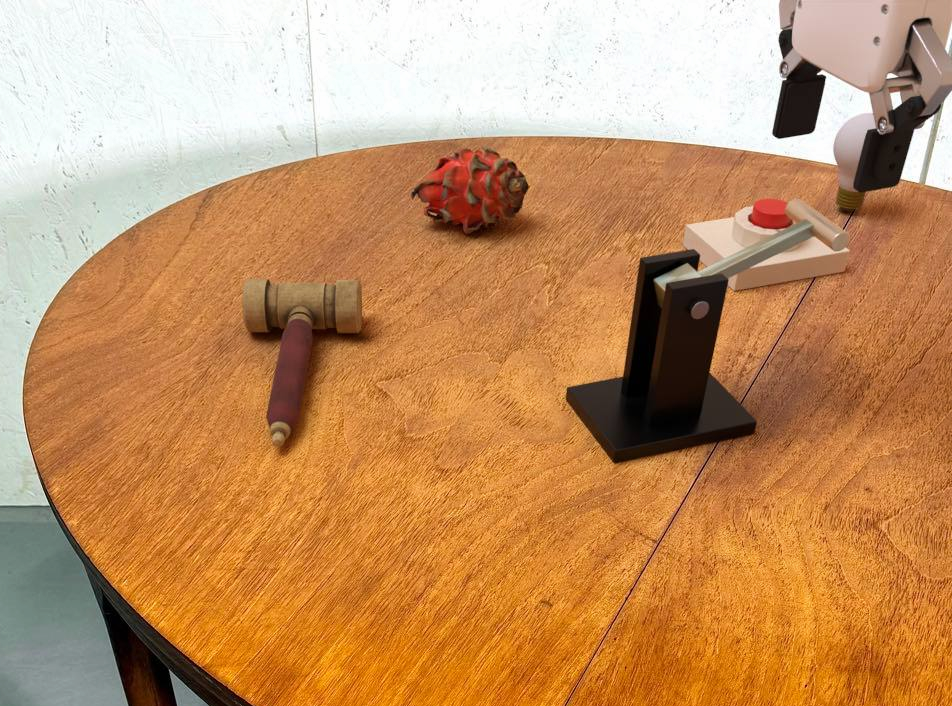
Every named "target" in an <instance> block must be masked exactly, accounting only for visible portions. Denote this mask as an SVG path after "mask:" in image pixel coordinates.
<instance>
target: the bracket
mask: <svg viewBox="0 0 952 706" xmlns="http://www.w3.org/2000/svg"><path fill="white" fill-rule="evenodd" d="M686 263H688V264H689V265H690V266H691V267H693V268H694V269H695V270H696V271H697V272H698V271H699V265H700V254H699V253H698V252H697V251H696V250H695V249H691V250H687V249H686V250H679V251H672V252H668V253H666V252H665V253H662V254H654V255H647V256H643V257H640V258H639V264H638V269H637V276H636V284H635V291H634V297H633V304H632V312H631V318H630V325H629V332H628V339H627V346H626V353H625V358H624V359H625V361H624V367H623V374H622V376H619V377H618V376H617V377H614V378H608V379H603V380H598V381H593V382H592V381H591V382H588V383H582V384H576V385H572V386H567V387H566V392H565V400H566V402H567V403H568V405H570V407H571V408H572V409H573V411H574V412H575V414H576V415H577V416H578V418H579V419H580V420H581V422H582V423H583V424H584V426H585V427H586V428H587V429H588V431H589V432H590V433H591V435H592V436H593V438H594V439H595V440H596V441H597V443H598V444H599V445H600V447H601V448H602V450H604V452H605V453H606V454H607V456H608V457H609V458H610V460H611V461H612V462H613V463H614V464H615V463H620V462H626V461H631V460H635V459H639V458H640V459H641V458H644V457H650V456H655V455H659V454H662V453H663V454H664V453H669V452H673V451H677V450H682V449H688V448H693V447H697V446H702V445H707V444H711V443H715V442H721V441H725V440H731V439H735V438H739V437H740V438H741V437H745V436H748V435H754V434H755V432H756V428H757V424H758V420H756V418H755V417H754V416H753V415H752V414H751V413H750V412H749V411H748V410H747V409H746V408H745V407H744V406H743V405H742V404H741V403H740V402H739V401H738V400H737V399H736V398H735V397H734V396H733V395H732V393H730V391H729V390H728V389H727V388H725V387H724V385H722V383H721V382H720V381H719V380H718V379H717V378H716V377H715V376H714V375H713V374H712V373H711V368H712V367H711V366H712V363H713V357H714V353H715V348H716V343H717V339H718V333H719V329H720V324H721V319H722V315H723V314H722V313H723V310H724V305H725V300H726V295H727V290H728V287H729V286H728V281H729V279H727V278H726V277H725V276H724V275H723V274H716V275H710V276H704V277H698V278H692V279H686V280H681V281H675V282H669V283H666V288H665V294H664V300H663V306H662V309H661V308H660V306H659V305H658V301H657V296H656V291H655V286H654V281H653V280H654V279H655V278H657V277H659V276H661V275H664V274H666V273H668V272H670V271H672V270H674V269H676V268H678V267H680V266H682V265H684V264H686Z"/></svg>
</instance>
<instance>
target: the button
mask: <svg viewBox="0 0 952 706" xmlns="http://www.w3.org/2000/svg"><path fill="white" fill-rule="evenodd" d="M788 203H789V202H787V201H785V200H781V199H777V198H761V199H758V200H756V201H755V202H754V203H753V205H752V206H753V211H752V215H751V220H750V222H751V223H752V224H753V225H755V226H758V227H761V228H764V229H775V230H778V229H785V228H788V227H789V224H790V220H791V219H790V218H789V217H788V216H786V214H785V208H786V206H787V204H788Z"/></svg>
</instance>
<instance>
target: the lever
mask: <svg viewBox="0 0 952 706" xmlns="http://www.w3.org/2000/svg"><path fill="white" fill-rule="evenodd" d="M787 203H788V204H787V206H786V208H785V214H786V216H788V217H789V218H790V219H792V220H793V221H794V222H796V224H794V225H792V226H790V227H788V228H786V229H784V230H782V231H780V232H778V233H776V234H774V235H772V236H769V237H767V238H765V239H763V240H761V241H759V242H757V243H755V244H753V245H751V246H749V247H747V248H745V249H743V250H741V251H739V252H737V253H735V254H733V255H731V256H728V257H726V258H724V259H722V260H720V261H718V262H716V263H714V264H712V265H710V266H708V267H707V266H705V267H704V268H702V269H700V270H697V271H696V270H695V269H694V268H693V267H691V266H690V265H689V264H688V263H686V264H684V265H682V266H680V267H678V268H676V269H674V270H672V271H670V272H668V273H666V274H664V275H661V276H659V277H657V278H655V279H654V280H653V281H654V286H655V291H656V296H657V301H658V305H659V306H660V308H661V309H662V306H663V300H664V294H665V288H666V283H669V282H675V281H681V280H686V279H692V278H698V277H704V276H710V275H716V274H723V275H724V276H725V277H726V278H727V279H728V278H730V277H732V276H734V275H736V274H738V273H740V272H742V271H744V270H746V269H748V268H750V267H752V266H754V265H756V264H758V263H760V262H763V261H765V260H767V259H769V258H771V257H773V256H775V255H777V254H779V253H781V252H783V251H785V250H787V249H789V248H791V247H793V246H795V245H797V244H799V243H801V242H804V241H806V240H808V239H810V238H812V237H814V236H815V237H816V238H817V239H819V240H820V241H821V242H823V243H824V244H825V245H827V246H828V247H829V248H831V249H832V250H833V251H841V250H843V249H844V248H845V247H846V248H847V246H848V245H849V243H850V240H851V237H850V234H849V233H848V232H847V231H846V230H844V229H843V228H842V227H840V226H838V225H837V224H835V223H834V222H833V221H832V220H830V219H829V218H827V217H826V216H825V215H823V214H822V213H820V212H819V211H817V210H816V209H815V208H814V207H812V206H810V205H809V204H808V203H806V202H805V201H804V200H802V199H801V198H793V199H791V200H789V202H787Z"/></svg>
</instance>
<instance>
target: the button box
mask: <svg viewBox="0 0 952 706" xmlns="http://www.w3.org/2000/svg"><path fill="white" fill-rule="evenodd" d="M753 206H754V205H749V206H744V207H743V208H741V209H739V210H738V211H736V212H735V214H734V216H731V217H725V218H720V219H713V220H706V221H701V222H695V223H693V222H692V223H688V224H685V227H684V234H683V239H682V246H683V247H684V248H685V249H686V250H691V249H695V250H696V251H697V252H698V253H699V254H700V260H699V262H701V263H702V264H703V265H704V266H705V267H708V266H710V265H712V264H714V263H716V262H718V261H720V260H722V259H724V258H726V257H728V256H731V255H733V254H735V253H737V252H739V251H741V250H743V249H745V248H747V247H749V246H751V245H753V244H755V243H757V242H759V241H761V240H763V239H765V238H767V237H769V236H772V235H774V234H776V233H778V232H780V231H782V230H784V229H778V230H775V229H764V228H761V227H758V226H755V225H753V224H752V223H751V222H750V220H751V215H752V211H753ZM794 224H796V222H794V221H793V220H792V219H791V220H790V224H789V227H790V226H792V225H794ZM785 229H786V228H785ZM850 253H851V250H850V249H849V248H847V246H846V247H845V248H844V249H843V250H841V251H833V250H832V249H831V248H829V247H828V246H827V245H825V244H824V243H823V242H821V241H820V240H819V239H817V238H816V237H815V236H814V237H812V238H810V239H808V240H806V241H804V242H801V243H799V244H797V245H795V246H793V247H791V248H789V249H787V250H785V251H783V252H781V253H779V254H777V255H775V256H773V257H771V258H769V259H767V260H765V261H763V262H760V263H758V264H756V265H754V266H752V267H750V268H748V269H746V270H744V271H742V272H740V273H738V274H736V275H734V276H732V277H730V278H728V279H729V281H728V286H727V287H729V288H730V289H731V290H732V291H733V292H737V291H743V290H748V289H754V288H759V287H766V286H772V285H777V284H783V283H789V282H793V281H794V282H795V281H800V280H804V279H805V280H807V279H810V278H811V279H812V278H816V277H817V278H818V277H821V276H828V275H833V274H839V273H840V274H841V273H844V272H845V271H846V267H847V264H848V261H849V258H850Z"/></svg>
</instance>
